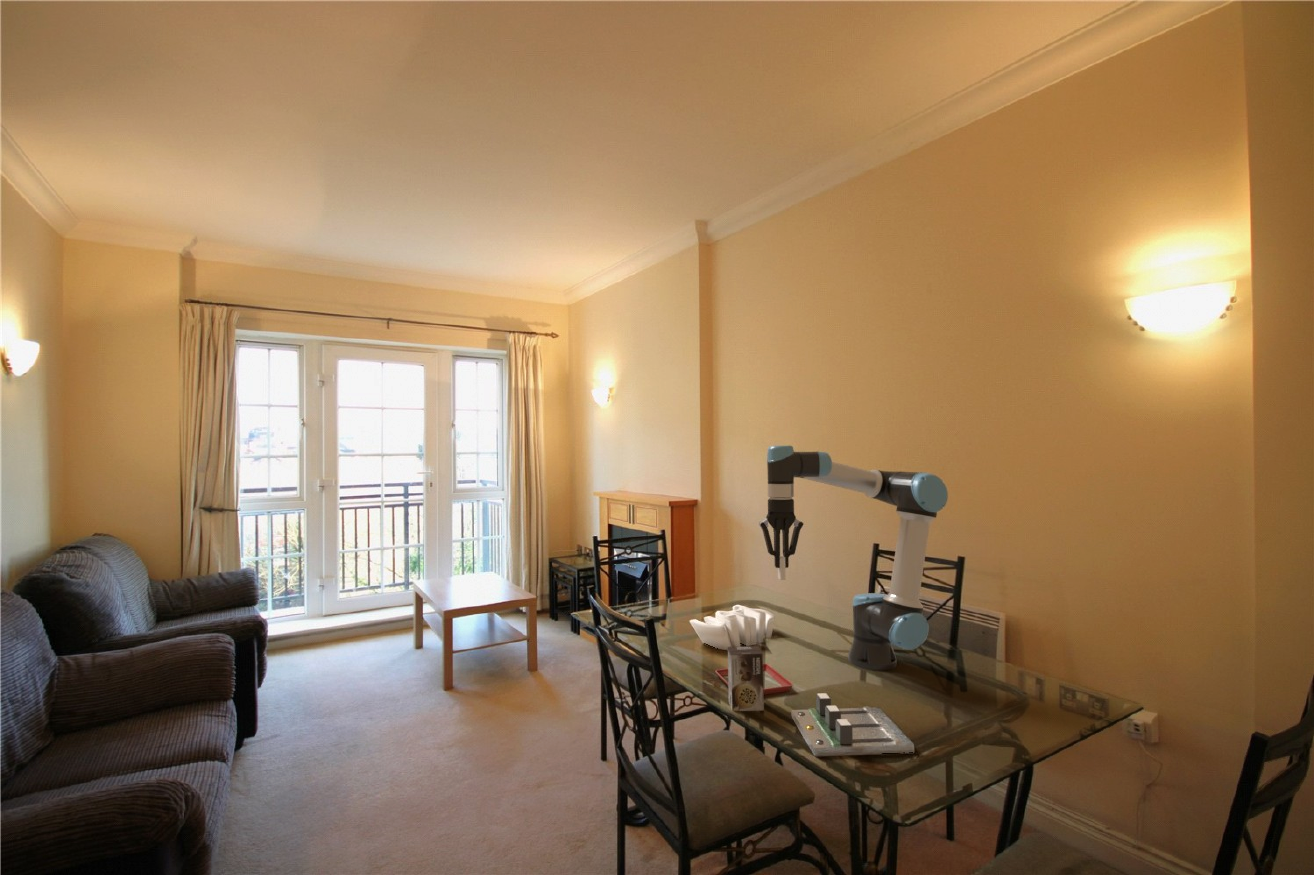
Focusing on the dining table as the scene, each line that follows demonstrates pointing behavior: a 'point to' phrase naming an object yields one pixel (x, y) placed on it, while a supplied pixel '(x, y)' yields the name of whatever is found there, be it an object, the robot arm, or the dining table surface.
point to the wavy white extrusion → (735, 627)
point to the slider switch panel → (868, 733)
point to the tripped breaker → (832, 716)
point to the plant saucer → (778, 677)
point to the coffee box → (745, 678)
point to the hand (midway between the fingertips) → (781, 578)
